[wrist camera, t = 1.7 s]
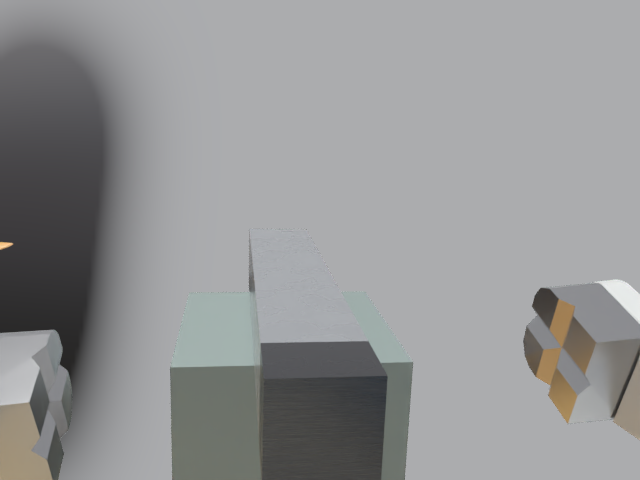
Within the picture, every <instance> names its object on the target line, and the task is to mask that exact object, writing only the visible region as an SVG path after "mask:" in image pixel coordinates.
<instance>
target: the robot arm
mask: <svg viewBox="0 0 640 480" xmlns="http://www.w3.org/2000/svg"><path fill="white" fill-rule="evenodd" d="M532 307H533V309H534V311H535V313H536V314H537V316H536V317H535V318H534V319H533V320H532V321H531V322H530V323H529V324H528V325H527V327H526V331H525V336H524V341H523V342H524V351H525V357H526V360H527V362H528V365H529V367H530V369H531V370H532V372H533V373H534V375H535V376H536V377H537V378H539V379H540V380H542V381H544V382H545V383H547V384H549V385H550V388H549V394H548V396H549V397H550V399H551V400H552V401H553V403H554V404H555V406H556V407H557V409H558V410H559V412H560V413H561V414H562V416H563V418H564V419H565V420H566V422H567V423H568V424H572V423H582V422H592V421H602V420H612V419H614V421H613V422H614V423H616V424H617V425H619V426H620V427H621V428H623V429H624V430H626V431H627V432H629V433H630V434H631V435H633V436H634V437H636V438H637V439H639V440H640V295H639V294H638V293H637V292H636V291H635V290H634V289H633V288H632V287H631V286H630V285H629V284H628V283H626V282H624V281H621V280H619V279H616V280H608V281H599V282H592V283H588V284H577V285H566V286H555V287H545V288H540V289H539V291H538V292H537V293H536V295H535V297H534V301H533V304H532ZM62 351H63V350H62V345H61V342H60V338H59V335H58V333H57V332H56V331H55V330H42V331H27V332H12V333H0V480H58V477H59V473H60V468H61V464H62V459H63V455H64V453H63V449H62V445H61V441H60V438H61V437H62V436H63V435H64V434H65V433H66V432H67V431H68V430H69V425H70V420H71V415H72V414H71V413H72V391H71V382H70V378H69V374H68V371H67V370H66V369H65V368H63V367H62V366H60V365H59V363H60V359H61V354H62Z"/></svg>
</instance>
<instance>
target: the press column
mask: <svg viewBox="0 0 640 480" xmlns="http://www.w3.org/2000/svg"><path fill="white" fill-rule="evenodd" d="M341 293H342V294H343V296H344V298H345V300H346V302H347V303H348V305H349V307H350V309H351V311H352V312H353V314H354V316H355V318H356V320H357V321H358V323H359V325H360V327H361V329H362V330H363V332H364V334H365V336H366V338H367V339H368V341H369V343H370V345H371V347H372V348H373V350H374V352H375V354H376V356H377V357H378V359H379V361H380V363H381V365H382V367H383V368H384V370H385V372H386V374H387V376H388V379H387V395H386V411H385V427H384V442H383V458H382V474H381V480H405V468H406V453H407V439H408V426H409V412H410V398H411V384H412V369H413V362H412V360H411V358H410V357H409V355H408V354H407V353H406V351H405V350H404V348H403V347H402V345H401V344H400V342H399V341H398V339H397V338H396V336H395V335H394V333H393V332H392V331H391V329H390V328H389V326H388V325H387V323H386V322H385V320H384V319H383V317H382V316H381V314H380V313H379V311H378V310H377V309H376V307H375V306H374V304H373V303H372V301H371V300H370V298H369V297H368V295H367V294H366V292H341ZM170 378H171V379H170V380H171V432H172V433H171V434H172V480H261V468H260V453H259V437H258V421H257V405H256V390H255V374H254V358H253V342H252V327H251V311H250V295H249V292H232V293H231V292H229V293H189V296H188V301H187V304H186V308H185V312H184V316H183V320H182V324H181V327H180V332H179V335H178V339H177V343H176V347H175V351H174V355H173V359H172V363H171V367H170Z"/></svg>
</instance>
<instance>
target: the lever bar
mask: <svg viewBox="0 0 640 480" xmlns="http://www.w3.org/2000/svg"><path fill="white" fill-rule="evenodd" d="M249 295H250V311H251V327H252V342H253V358H254V374H255V390H256V405H257V421H258V437H259V453H260V468H261V480H381V474H382V458H383V442H384V427H385V411H386V395H387V379H388V376H387V374H386V372H385V370H384V368H383V367H382V365H381V363H380V361H379V359H378V357H377V356H376V354H375V352H374V350H373V348H372V347H371V345H370V343H369V341H368V339H367V338H366V336H365V334H364V332H363V330H362V329H361V327H360V325H359V323H358V321H357V320H356V318H355V316H354V314H353V312H352V311H351V309H350V307H349V305H348V303H347V302H346V300H345V298H344V296H343V294H342V293H341V291H340V289H339V287H338V285H337V284H336V282H335V280H334V278H333V276H332V275H331V273H330V271H329V269H328V267H327V265H326V264H325V262H324V260H323V258H322V256H321V255H320V253H319V251H318V249H317V247H316V246H315V244H314V242H313V240H312V238H311V237H310V235H309V233H308V231H307V229H249Z"/></svg>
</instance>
